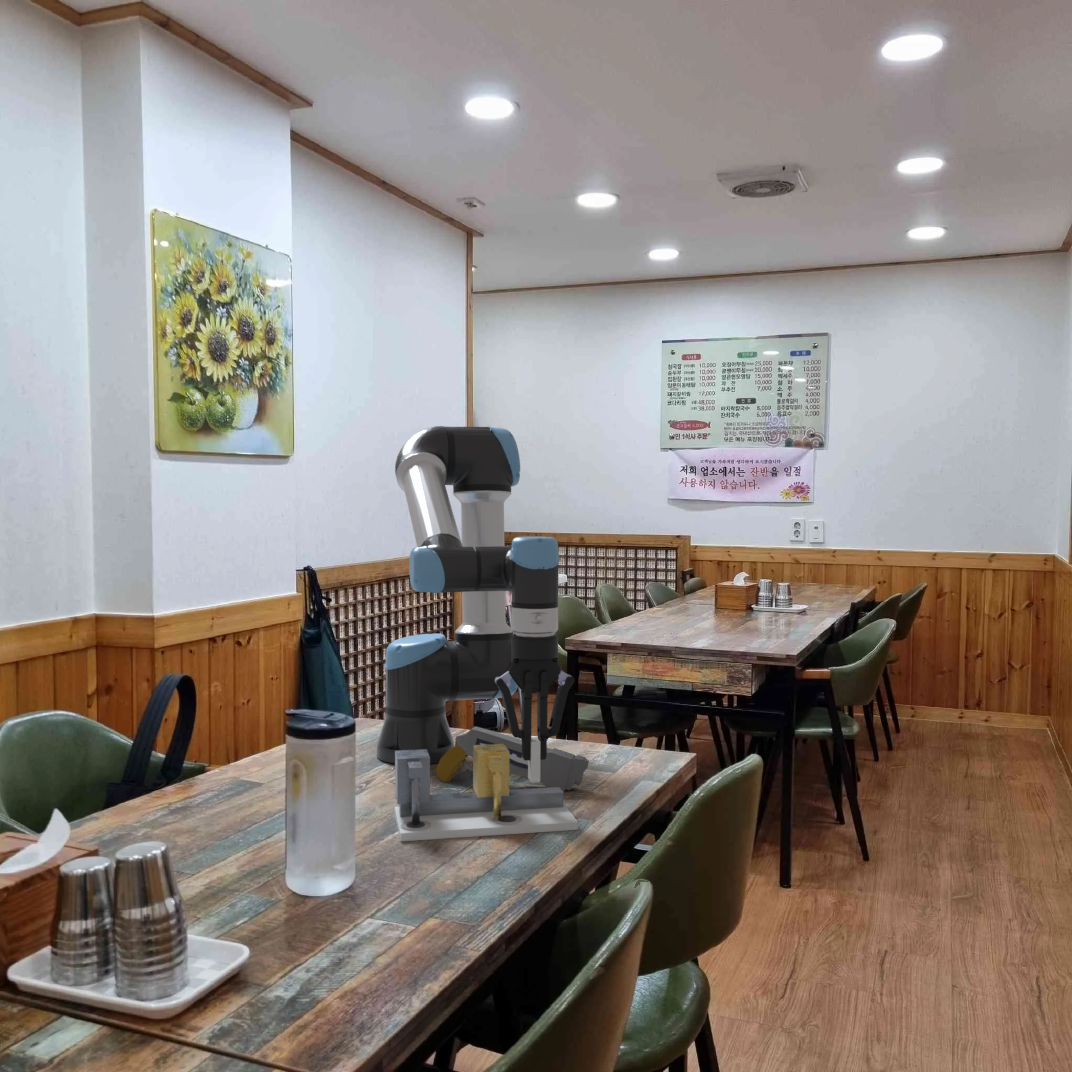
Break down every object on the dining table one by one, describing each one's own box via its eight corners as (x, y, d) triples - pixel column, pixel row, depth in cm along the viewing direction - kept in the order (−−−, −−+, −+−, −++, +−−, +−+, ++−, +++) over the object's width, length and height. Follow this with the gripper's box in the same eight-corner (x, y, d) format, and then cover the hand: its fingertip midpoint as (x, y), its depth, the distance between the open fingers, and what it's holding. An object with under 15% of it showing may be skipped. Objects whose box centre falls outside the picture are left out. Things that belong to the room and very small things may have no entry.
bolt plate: (394, 813, 161) (394, 805, 161) (558, 804, 167) (558, 795, 167) (400, 841, 148) (400, 832, 148) (577, 829, 154) (578, 820, 154)
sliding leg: (473, 800, 162) (473, 745, 162) (503, 798, 163) (503, 743, 163) (481, 818, 153) (481, 759, 153) (513, 816, 154) (514, 758, 154)
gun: (555, 840, 174) (588, 763, 172) (430, 778, 179) (460, 702, 177) (559, 834, 177) (591, 758, 175) (436, 773, 182) (466, 699, 180)
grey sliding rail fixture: (395, 809, 160) (395, 750, 159) (557, 799, 165) (558, 743, 165) (399, 828, 151) (399, 766, 150) (571, 817, 156) (571, 757, 156)
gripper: (497, 637, 155) (497, 788, 156) (579, 635, 158) (579, 784, 159) (490, 631, 163) (490, 775, 164) (569, 629, 165) (568, 771, 166)
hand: (534, 779), depth 161 cm, fingers closed
